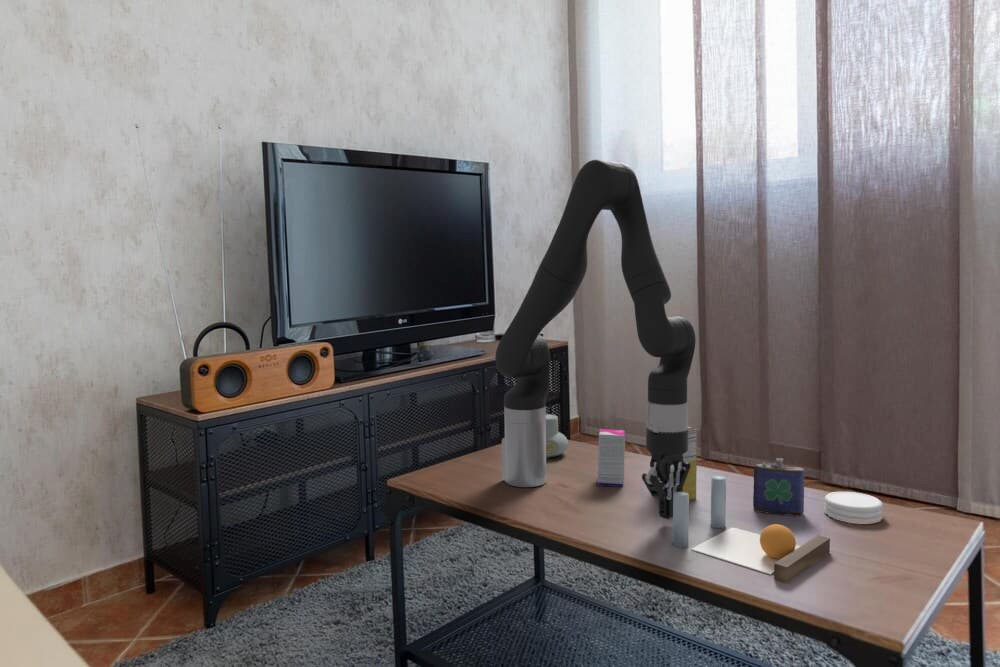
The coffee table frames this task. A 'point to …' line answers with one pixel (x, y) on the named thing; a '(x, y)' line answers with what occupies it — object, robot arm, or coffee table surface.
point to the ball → (777, 541)
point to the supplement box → (611, 457)
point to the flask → (778, 488)
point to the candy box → (691, 463)
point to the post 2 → (718, 502)
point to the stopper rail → (801, 558)
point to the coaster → (853, 507)
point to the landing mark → (739, 550)
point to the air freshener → (554, 437)
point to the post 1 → (680, 519)
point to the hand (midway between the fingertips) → (666, 517)
